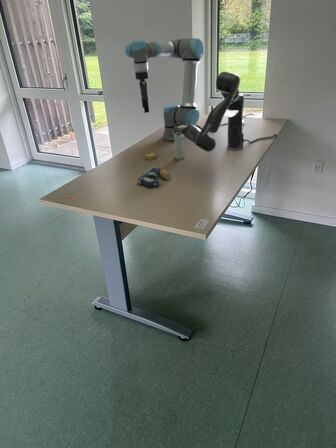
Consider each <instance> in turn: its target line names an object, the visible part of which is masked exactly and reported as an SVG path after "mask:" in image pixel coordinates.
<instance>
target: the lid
mask: <svg viewBox="0 0 336 448" xmlns="http://www.w3.org/2000/svg"><path fill="white" fill-rule="evenodd" d="M145 156H146V160H149V161H152V160H155V159H156V154H155V153H147V154H146V155H145Z"/></svg>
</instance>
